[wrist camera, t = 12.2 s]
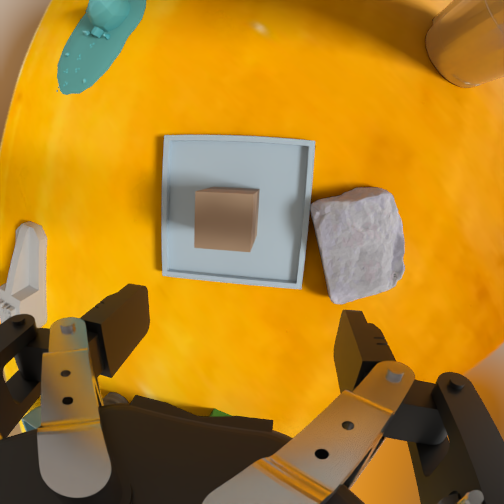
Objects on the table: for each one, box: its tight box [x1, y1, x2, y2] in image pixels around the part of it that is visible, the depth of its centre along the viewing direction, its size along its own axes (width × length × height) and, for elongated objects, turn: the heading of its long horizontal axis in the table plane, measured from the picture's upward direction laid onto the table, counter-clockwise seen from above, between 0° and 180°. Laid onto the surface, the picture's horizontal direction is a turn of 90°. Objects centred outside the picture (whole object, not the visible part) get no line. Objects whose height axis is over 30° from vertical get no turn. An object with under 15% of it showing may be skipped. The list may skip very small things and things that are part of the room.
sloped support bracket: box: [0, 221, 47, 328], centre depth 36 cm, size 6×18×8 cm, turn 164°
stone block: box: [310, 187, 405, 304], centre depth 32 cm, size 12×5×10 cm
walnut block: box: [194, 187, 260, 252], centre depth 30 cm, size 5×5×7 cm
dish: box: [162, 135, 315, 289], centre depth 33 cm, size 16×16×1 cm
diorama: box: [57, 0, 146, 95], centre depth 25 cm, size 12×20×9 cm, turn 146°
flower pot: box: [22, 406, 41, 432], centre depth 44 cm, size 9×9×9 cm
